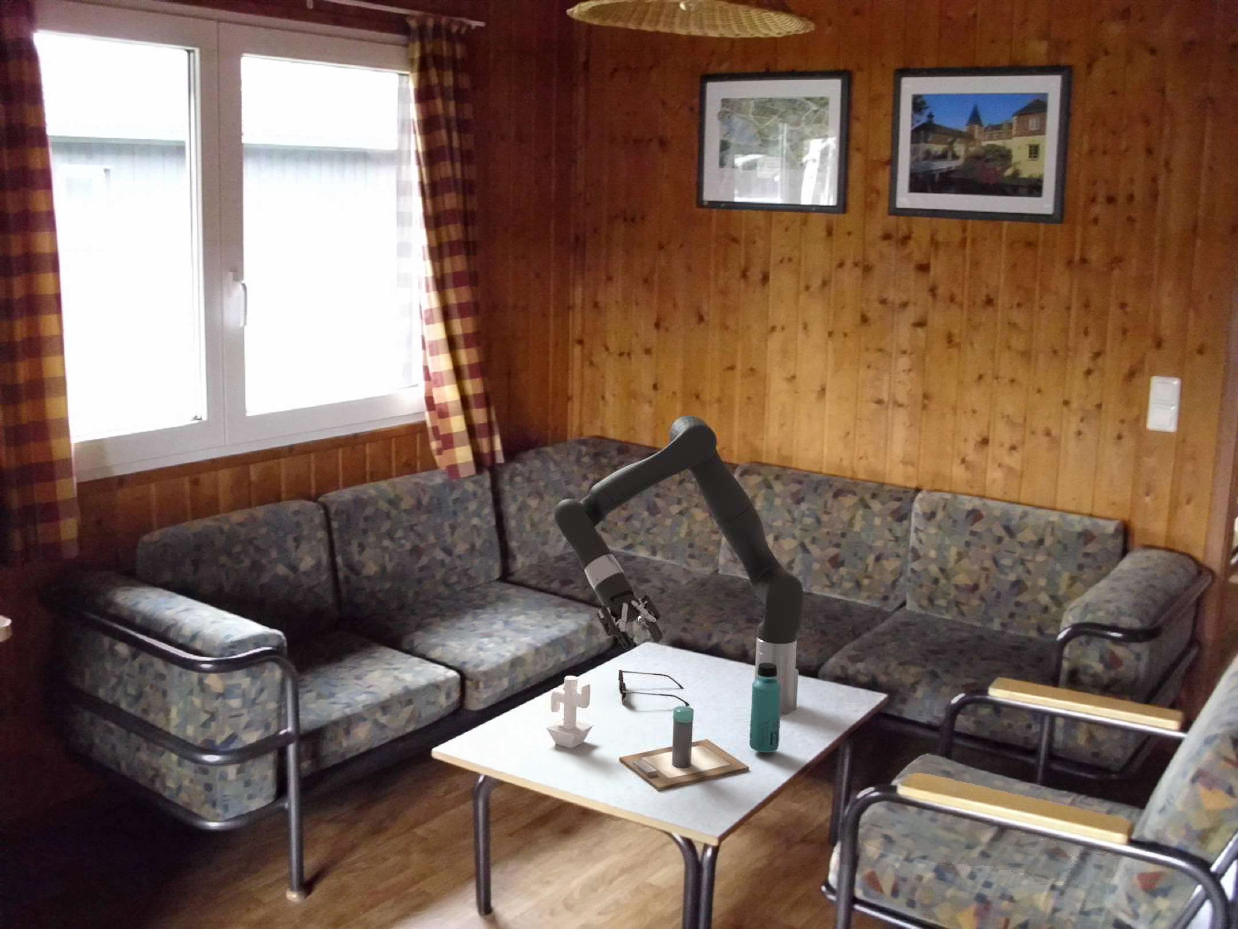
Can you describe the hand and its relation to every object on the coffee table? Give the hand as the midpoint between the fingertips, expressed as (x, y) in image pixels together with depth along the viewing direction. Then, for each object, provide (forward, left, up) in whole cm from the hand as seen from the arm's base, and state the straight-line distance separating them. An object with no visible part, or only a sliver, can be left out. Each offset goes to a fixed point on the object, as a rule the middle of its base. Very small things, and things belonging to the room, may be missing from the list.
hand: (645, 644), depth 284 cm
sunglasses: (-19, -26, -25) cm, 40 cm away
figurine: (+12, -11, -24) cm, 29 cm away
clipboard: (-4, +10, -24) cm, 26 cm away
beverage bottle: (-23, +12, -24) cm, 36 cm away
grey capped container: (-3, +11, -23) cm, 26 cm away
